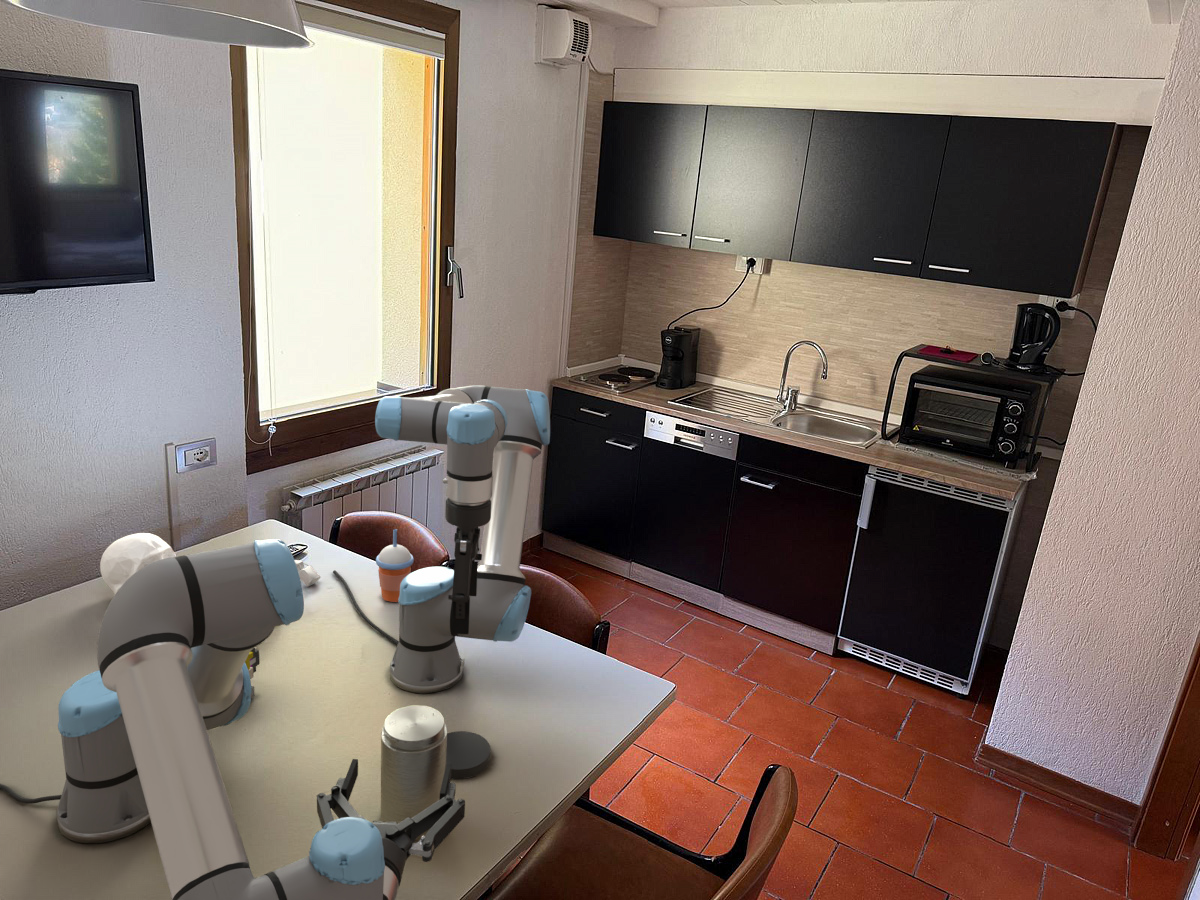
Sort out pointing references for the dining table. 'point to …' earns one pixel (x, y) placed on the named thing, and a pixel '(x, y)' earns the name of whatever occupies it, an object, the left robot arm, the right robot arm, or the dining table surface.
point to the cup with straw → (393, 569)
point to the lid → (467, 754)
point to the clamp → (307, 573)
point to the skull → (131, 557)
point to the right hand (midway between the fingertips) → (464, 613)
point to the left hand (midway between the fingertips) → (402, 768)
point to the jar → (412, 762)
